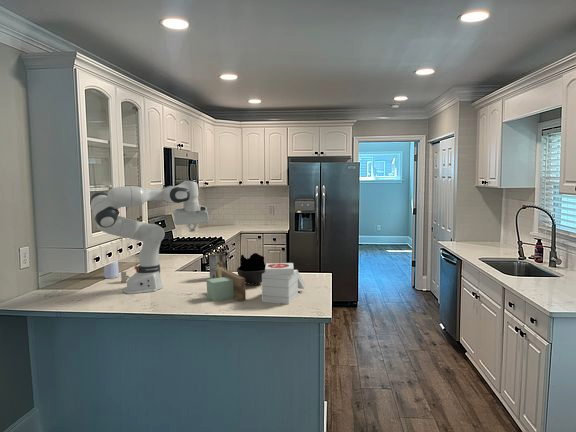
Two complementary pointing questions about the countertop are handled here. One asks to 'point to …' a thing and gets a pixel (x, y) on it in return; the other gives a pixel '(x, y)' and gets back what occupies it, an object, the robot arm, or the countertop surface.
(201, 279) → the countertop surface
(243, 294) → the walnut backstop board
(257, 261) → the coal bowl
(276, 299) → the pizza box stack
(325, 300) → the countertop surface
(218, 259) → the coffee box
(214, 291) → the sage block
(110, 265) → the soap bottle
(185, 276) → the countertop surface
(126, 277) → the architectural model
